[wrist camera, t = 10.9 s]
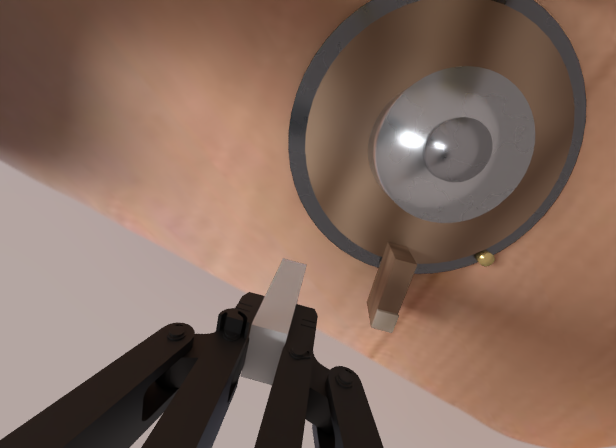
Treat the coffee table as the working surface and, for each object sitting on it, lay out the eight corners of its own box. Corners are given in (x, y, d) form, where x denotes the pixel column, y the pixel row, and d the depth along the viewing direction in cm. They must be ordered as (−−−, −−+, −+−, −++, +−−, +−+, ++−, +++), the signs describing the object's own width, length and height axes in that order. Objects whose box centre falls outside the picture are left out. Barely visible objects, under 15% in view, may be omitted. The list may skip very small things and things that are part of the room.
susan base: (267, 238, 27) (263, 244, 26) (326, -54, 20) (325, -66, 19) (500, 298, 27) (508, 307, 25) (644, 21, 20) (666, 12, 18)
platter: (274, 273, 27) (262, 300, 23) (341, -29, 20) (342, -74, 15) (475, 325, 27) (502, 363, 22) (621, 36, 19) (702, 9, 15)
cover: (363, 204, 23) (371, 222, 18) (374, 79, 21) (387, 60, 16) (480, 210, 23) (522, 231, 18) (506, 82, 20) (565, 64, 15)
